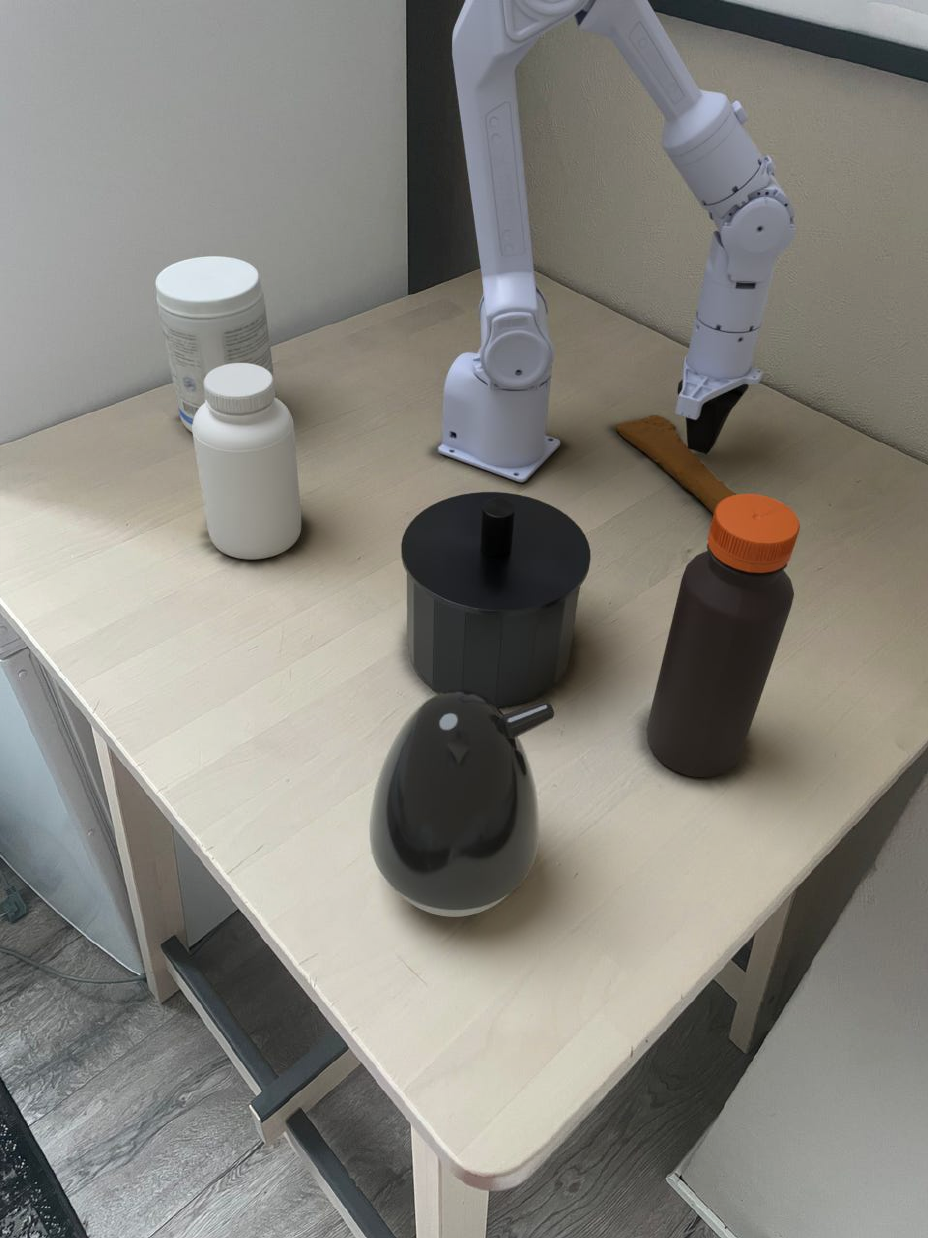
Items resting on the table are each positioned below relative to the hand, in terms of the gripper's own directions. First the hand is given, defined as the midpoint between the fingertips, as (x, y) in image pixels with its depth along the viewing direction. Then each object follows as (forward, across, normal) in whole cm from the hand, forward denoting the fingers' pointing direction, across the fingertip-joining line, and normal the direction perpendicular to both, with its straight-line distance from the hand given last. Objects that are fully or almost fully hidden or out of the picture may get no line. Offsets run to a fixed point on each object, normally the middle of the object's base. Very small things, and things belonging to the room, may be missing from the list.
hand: (699, 448), depth 99 cm
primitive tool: (+1, -4, 0) cm, 4 cm away
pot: (+1, -34, +4) cm, 34 cm away
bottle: (+1, -35, -13) cm, 37 cm away
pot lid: (-9, -34, +4) cm, 35 cm away
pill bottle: (+1, -32, +28) cm, 43 cm away
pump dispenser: (+1, -53, -4) cm, 53 cm away
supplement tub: (+1, -20, +42) cm, 46 cm away
